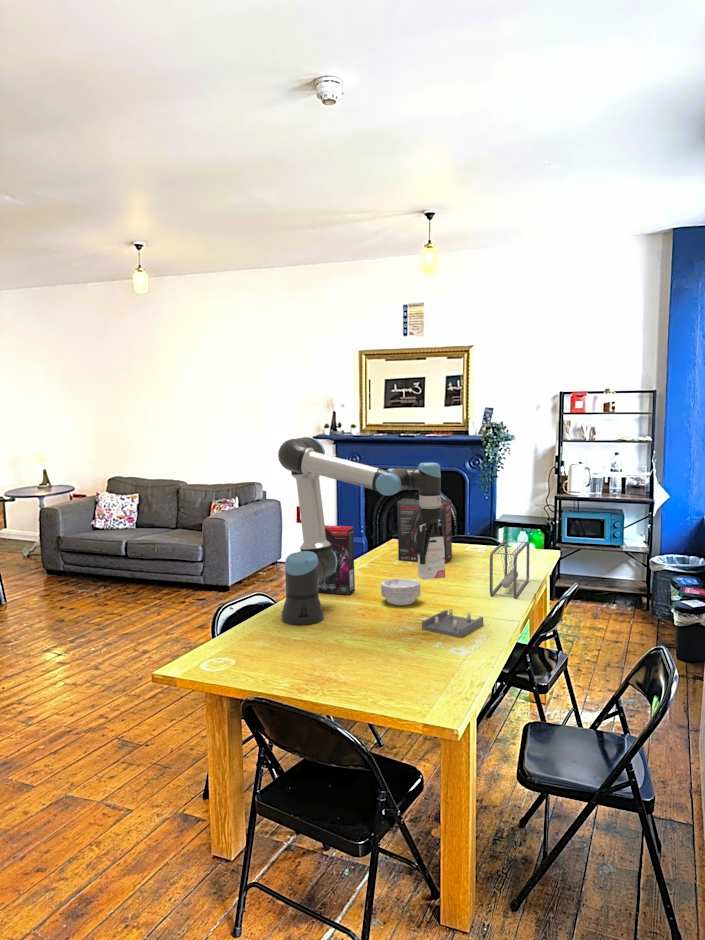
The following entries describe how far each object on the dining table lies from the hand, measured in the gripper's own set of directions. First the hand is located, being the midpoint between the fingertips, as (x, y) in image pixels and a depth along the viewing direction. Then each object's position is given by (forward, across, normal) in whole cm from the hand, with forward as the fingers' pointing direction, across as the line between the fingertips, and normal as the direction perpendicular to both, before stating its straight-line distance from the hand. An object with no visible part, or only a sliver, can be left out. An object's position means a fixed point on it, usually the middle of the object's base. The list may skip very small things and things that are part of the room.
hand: (431, 570), depth 244 cm
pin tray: (+18, -3, -10) cm, 21 cm away
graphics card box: (+18, +10, +52) cm, 56 cm away
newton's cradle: (+19, +54, -6) cm, 58 cm away
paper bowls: (+18, +13, +21) cm, 31 cm away
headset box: (+18, +81, +50) cm, 97 cm away
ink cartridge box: (+3, 0, 0) cm, 3 cm away
